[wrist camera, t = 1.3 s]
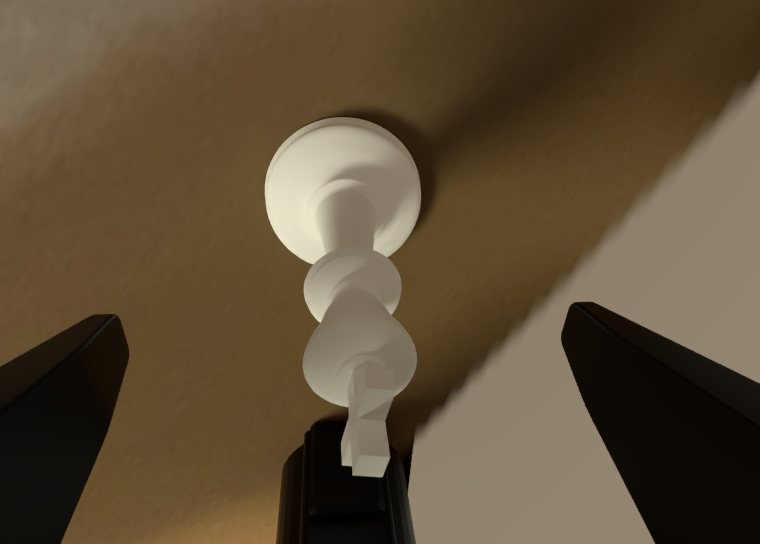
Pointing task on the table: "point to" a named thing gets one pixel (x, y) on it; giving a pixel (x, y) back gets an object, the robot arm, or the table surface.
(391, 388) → the chess piece
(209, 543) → the table surface
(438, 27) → the table surface
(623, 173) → the table surface
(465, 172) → the table surface
